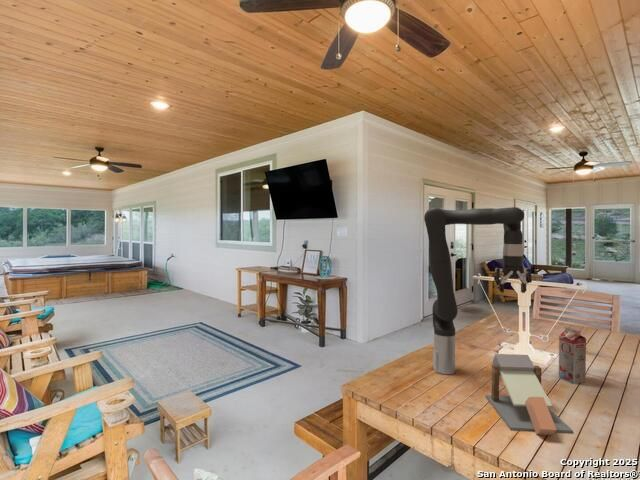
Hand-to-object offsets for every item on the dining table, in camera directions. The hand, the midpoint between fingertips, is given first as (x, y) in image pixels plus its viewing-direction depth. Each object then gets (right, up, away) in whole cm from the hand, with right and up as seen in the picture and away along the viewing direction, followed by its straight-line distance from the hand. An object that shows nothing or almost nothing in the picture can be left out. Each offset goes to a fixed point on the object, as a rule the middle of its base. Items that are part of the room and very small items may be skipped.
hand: (512, 292), depth 147 cm
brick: (-10, -31, -31) cm, 46 cm away
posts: (-9, -39, -18) cm, 44 cm away
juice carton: (+26, -38, +2) cm, 46 cm away
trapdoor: (-9, -31, -20) cm, 38 cm away
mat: (-9, -39, -25) cm, 47 cm away
